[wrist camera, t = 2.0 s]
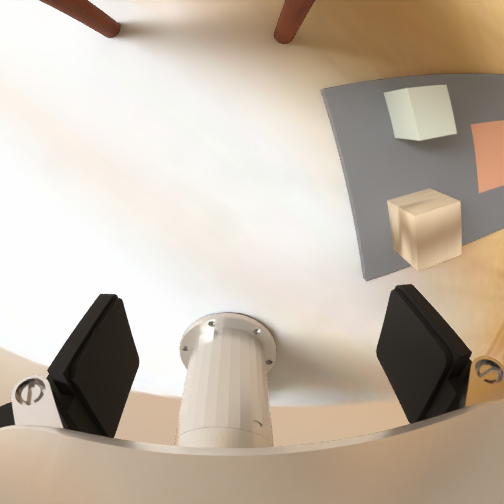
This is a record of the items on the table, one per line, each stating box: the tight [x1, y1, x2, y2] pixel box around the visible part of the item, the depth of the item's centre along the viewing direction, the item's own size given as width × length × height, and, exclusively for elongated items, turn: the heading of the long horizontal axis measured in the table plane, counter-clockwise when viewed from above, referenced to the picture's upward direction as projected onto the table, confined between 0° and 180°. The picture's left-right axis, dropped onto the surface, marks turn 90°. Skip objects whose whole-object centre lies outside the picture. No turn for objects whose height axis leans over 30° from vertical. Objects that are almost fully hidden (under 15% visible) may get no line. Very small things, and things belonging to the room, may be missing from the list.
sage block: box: [384, 85, 457, 141], centre depth 24 cm, size 5×5×5 cm
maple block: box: [387, 188, 462, 272], centre depth 28 cm, size 6×6×6 cm
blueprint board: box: [321, 73, 504, 281], centre depth 29 cm, size 22×30×1 cm
